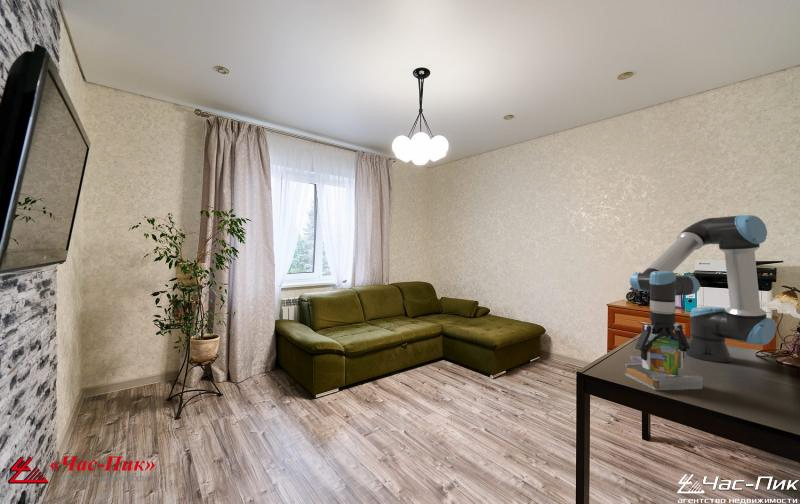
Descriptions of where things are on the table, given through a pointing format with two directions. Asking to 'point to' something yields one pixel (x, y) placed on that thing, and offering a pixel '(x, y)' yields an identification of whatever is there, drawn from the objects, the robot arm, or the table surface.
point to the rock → (635, 359)
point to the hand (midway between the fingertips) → (662, 367)
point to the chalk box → (664, 356)
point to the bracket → (662, 379)
